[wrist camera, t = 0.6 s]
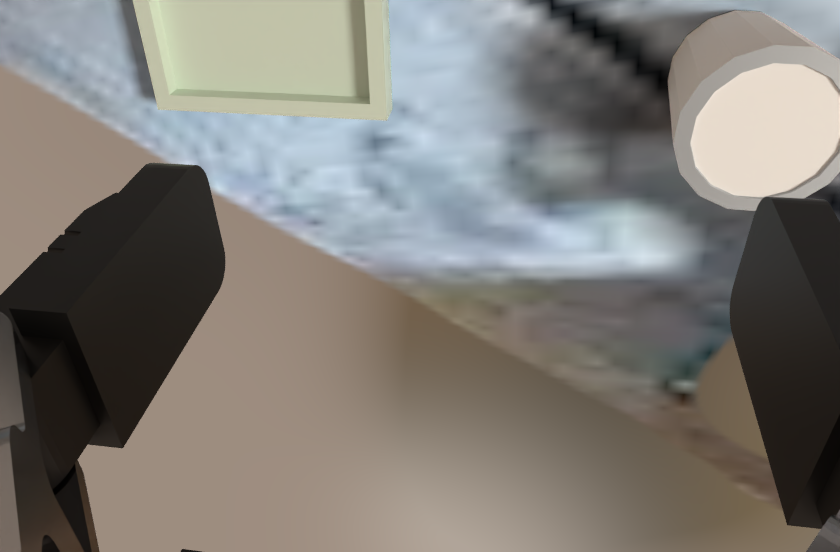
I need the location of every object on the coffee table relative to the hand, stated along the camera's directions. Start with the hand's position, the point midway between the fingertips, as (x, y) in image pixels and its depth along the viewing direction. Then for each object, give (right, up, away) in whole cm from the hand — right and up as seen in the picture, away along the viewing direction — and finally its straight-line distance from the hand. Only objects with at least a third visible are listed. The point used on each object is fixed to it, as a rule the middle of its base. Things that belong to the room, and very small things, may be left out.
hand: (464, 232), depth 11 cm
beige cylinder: (+14, +9, +23) cm, 28 cm away
